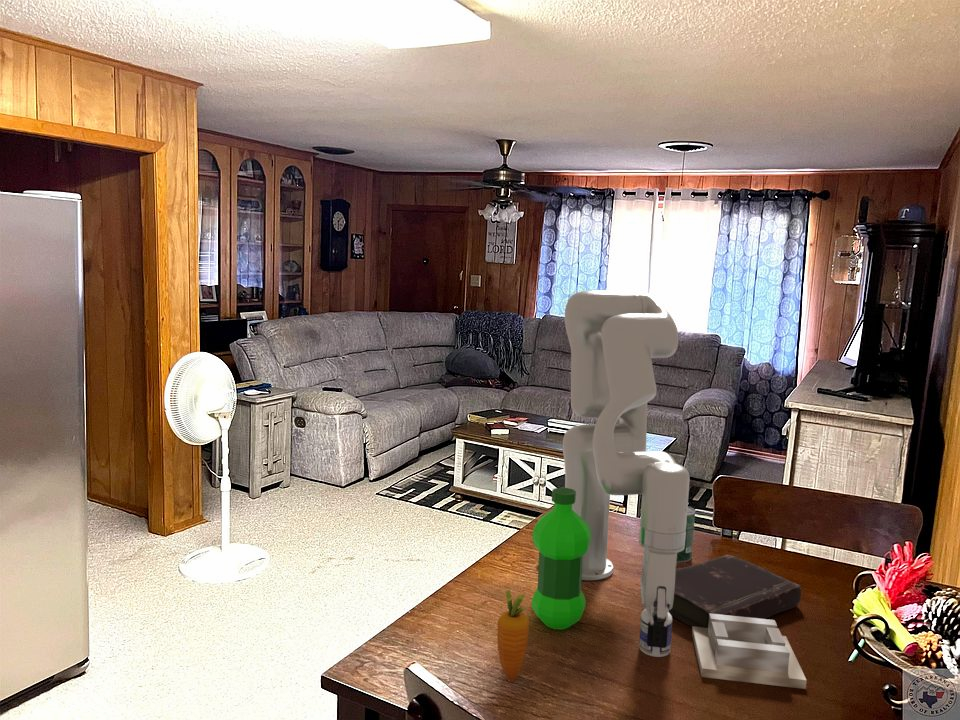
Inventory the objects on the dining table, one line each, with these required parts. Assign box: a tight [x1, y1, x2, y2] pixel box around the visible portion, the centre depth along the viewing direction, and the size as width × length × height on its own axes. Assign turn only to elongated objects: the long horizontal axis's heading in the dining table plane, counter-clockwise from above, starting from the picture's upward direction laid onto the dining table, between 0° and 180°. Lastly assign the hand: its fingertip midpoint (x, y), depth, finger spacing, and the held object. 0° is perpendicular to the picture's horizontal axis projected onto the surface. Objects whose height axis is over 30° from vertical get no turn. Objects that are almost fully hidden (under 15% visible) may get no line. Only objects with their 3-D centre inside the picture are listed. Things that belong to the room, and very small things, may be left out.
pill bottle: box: [638, 602, 673, 658], centre depth 129 cm, size 5×5×9 cm
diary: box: [669, 554, 802, 628], centre depth 146 cm, size 19×25×5 cm
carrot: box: [497, 589, 530, 683], centre depth 117 cm, size 5×5×15 cm
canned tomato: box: [677, 506, 696, 564], centre depth 169 cm, size 8×8×11 cm
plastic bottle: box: [531, 487, 591, 630], centre depth 136 cm, size 10×10×25 cm
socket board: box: [691, 613, 807, 690], centre depth 126 cm, size 16×14×5 cm
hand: (655, 636), depth 129 cm, fingers closed on pill bottle, 5 cm apart
